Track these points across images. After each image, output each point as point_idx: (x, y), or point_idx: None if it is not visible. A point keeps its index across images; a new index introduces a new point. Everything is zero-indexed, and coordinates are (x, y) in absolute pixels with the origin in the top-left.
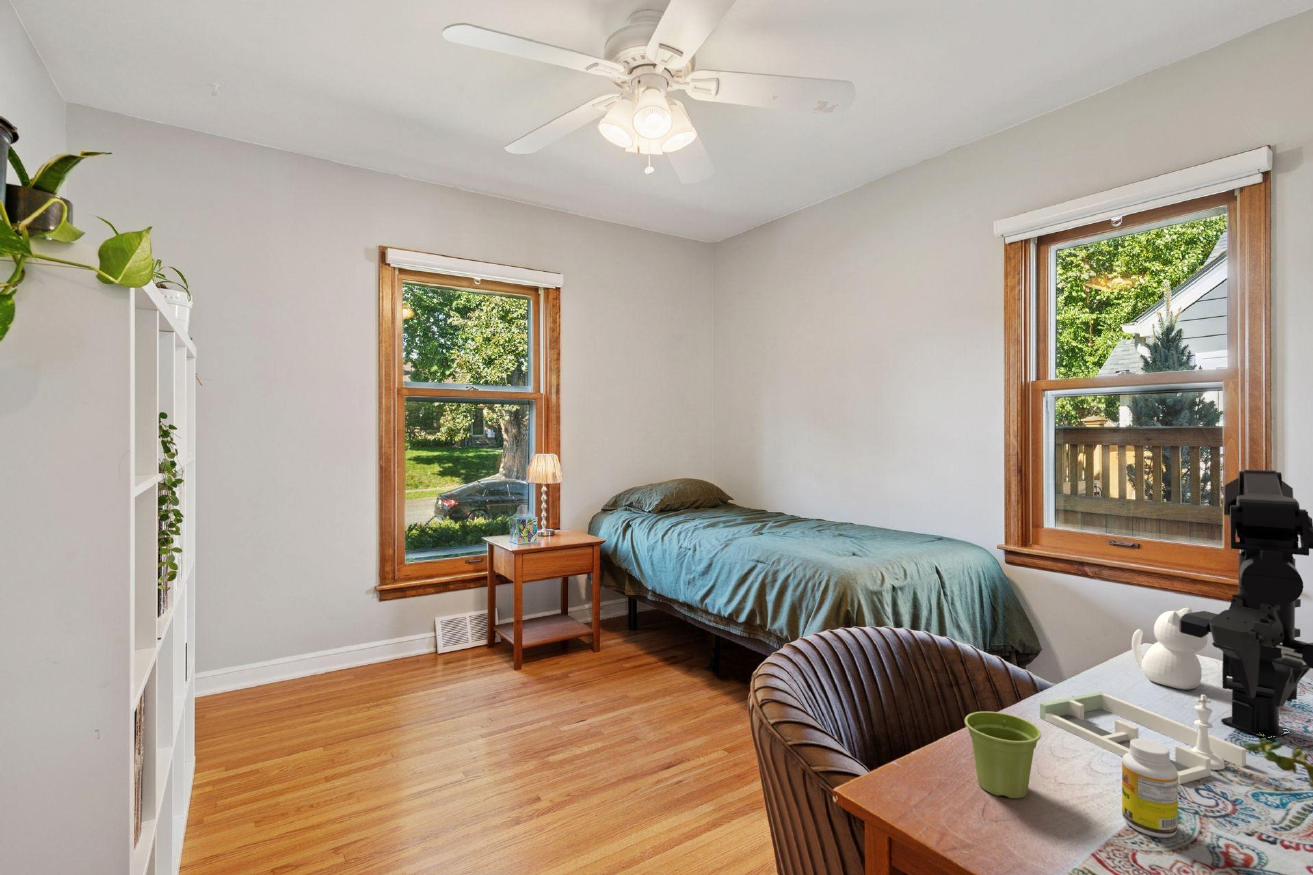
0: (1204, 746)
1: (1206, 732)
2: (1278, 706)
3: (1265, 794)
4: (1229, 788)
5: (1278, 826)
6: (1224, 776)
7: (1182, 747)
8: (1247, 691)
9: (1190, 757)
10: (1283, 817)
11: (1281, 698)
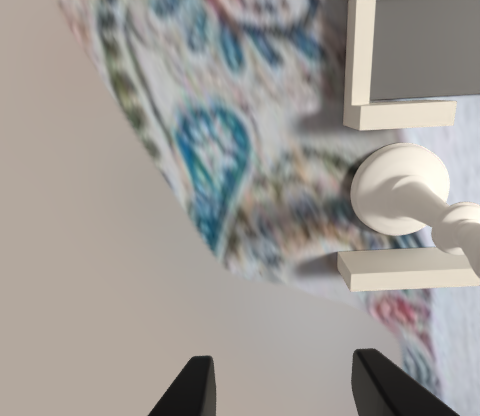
0: (411, 194)
1: (434, 218)
2: (193, 358)
3: (233, 163)
4: (282, 103)
5: (115, 17)
6: (326, 159)
7: (441, 118)
8: (384, 370)
9: (401, 103)
10: (145, 83)
11: (155, 408)
